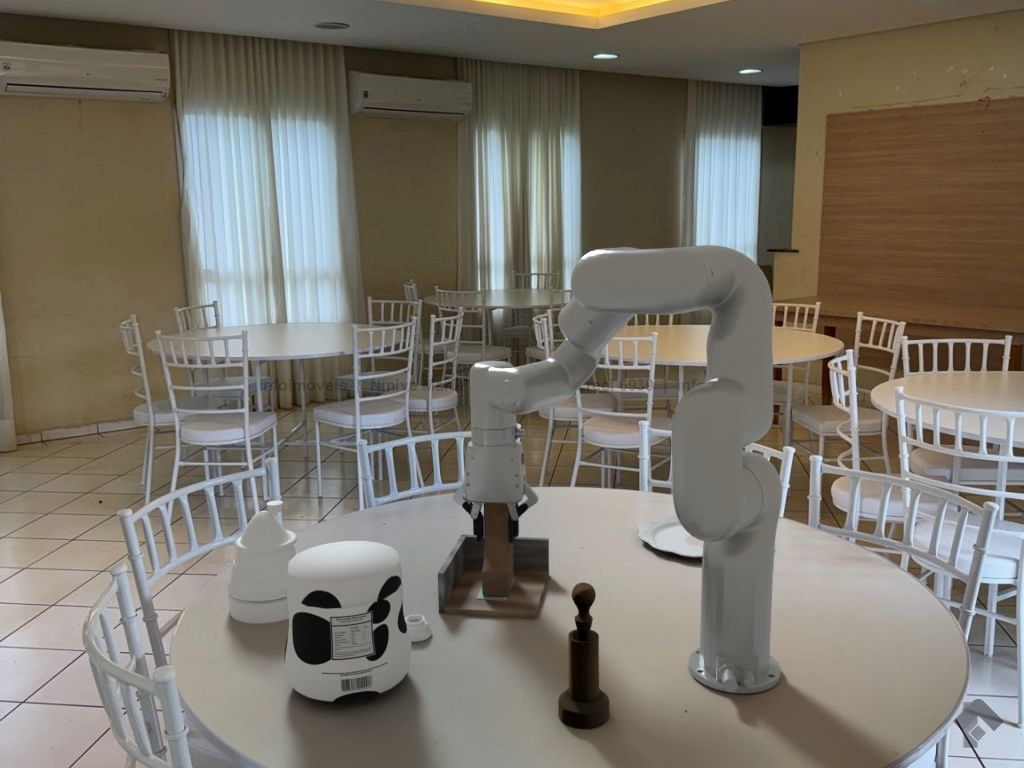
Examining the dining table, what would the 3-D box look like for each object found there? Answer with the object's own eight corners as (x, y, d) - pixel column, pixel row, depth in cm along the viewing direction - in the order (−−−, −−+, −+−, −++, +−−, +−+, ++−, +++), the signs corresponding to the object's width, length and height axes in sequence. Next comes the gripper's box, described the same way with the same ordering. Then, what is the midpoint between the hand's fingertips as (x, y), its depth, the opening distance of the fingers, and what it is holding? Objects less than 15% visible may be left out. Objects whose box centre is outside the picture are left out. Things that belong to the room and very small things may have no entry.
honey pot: (309, 587, 156) (303, 489, 152) (308, 618, 143) (301, 512, 140) (233, 594, 153) (225, 495, 150) (225, 627, 141) (217, 519, 137)
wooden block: (508, 597, 147) (506, 493, 144) (482, 597, 148) (479, 493, 145) (513, 576, 156) (511, 478, 153) (488, 576, 157) (486, 478, 153)
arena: (535, 618, 142) (535, 577, 141) (438, 613, 145) (437, 573, 143) (549, 575, 159) (548, 538, 158) (462, 570, 162) (461, 534, 161)
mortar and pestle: (578, 696, 119) (578, 570, 115) (619, 712, 115) (620, 582, 111) (548, 718, 114) (547, 586, 110) (590, 735, 110) (590, 599, 106)
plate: (794, 554, 168) (795, 544, 168) (681, 574, 159) (681, 564, 159) (718, 515, 191) (718, 506, 191) (616, 531, 182) (616, 522, 182)
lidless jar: (434, 641, 135) (427, 627, 140) (434, 623, 135) (426, 609, 140) (402, 646, 134) (396, 632, 138) (401, 628, 133) (395, 614, 138)
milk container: (350, 642, 135) (344, 530, 132) (437, 673, 125) (433, 553, 122) (260, 691, 121) (250, 567, 118) (349, 730, 111) (342, 597, 108)
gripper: (547, 431, 149) (548, 534, 152) (449, 429, 152) (452, 530, 155) (541, 442, 142) (543, 549, 145) (438, 440, 145) (442, 545, 148)
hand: (496, 538), depth 150 cm, fingers open, 4 cm apart
